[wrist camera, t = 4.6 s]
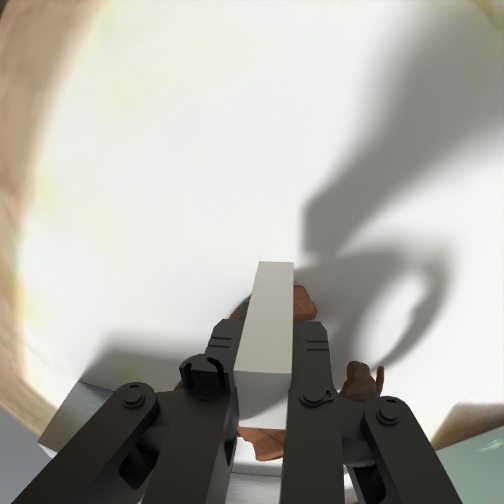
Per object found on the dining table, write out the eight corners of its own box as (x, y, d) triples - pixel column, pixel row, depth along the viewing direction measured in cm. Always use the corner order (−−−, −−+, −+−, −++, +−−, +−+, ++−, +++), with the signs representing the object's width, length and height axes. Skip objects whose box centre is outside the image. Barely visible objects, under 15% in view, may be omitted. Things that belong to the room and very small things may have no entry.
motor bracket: (77, 381, 23) (26, 459, 14) (350, 415, 20) (358, 531, 11) (122, 454, 29) (95, 516, 20) (323, 481, 26) (321, 557, 17)
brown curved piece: (351, 254, 16) (424, 395, 10) (340, 331, 23) (379, 425, 17) (135, 319, 15) (150, 474, 10) (193, 375, 22) (213, 474, 17)
